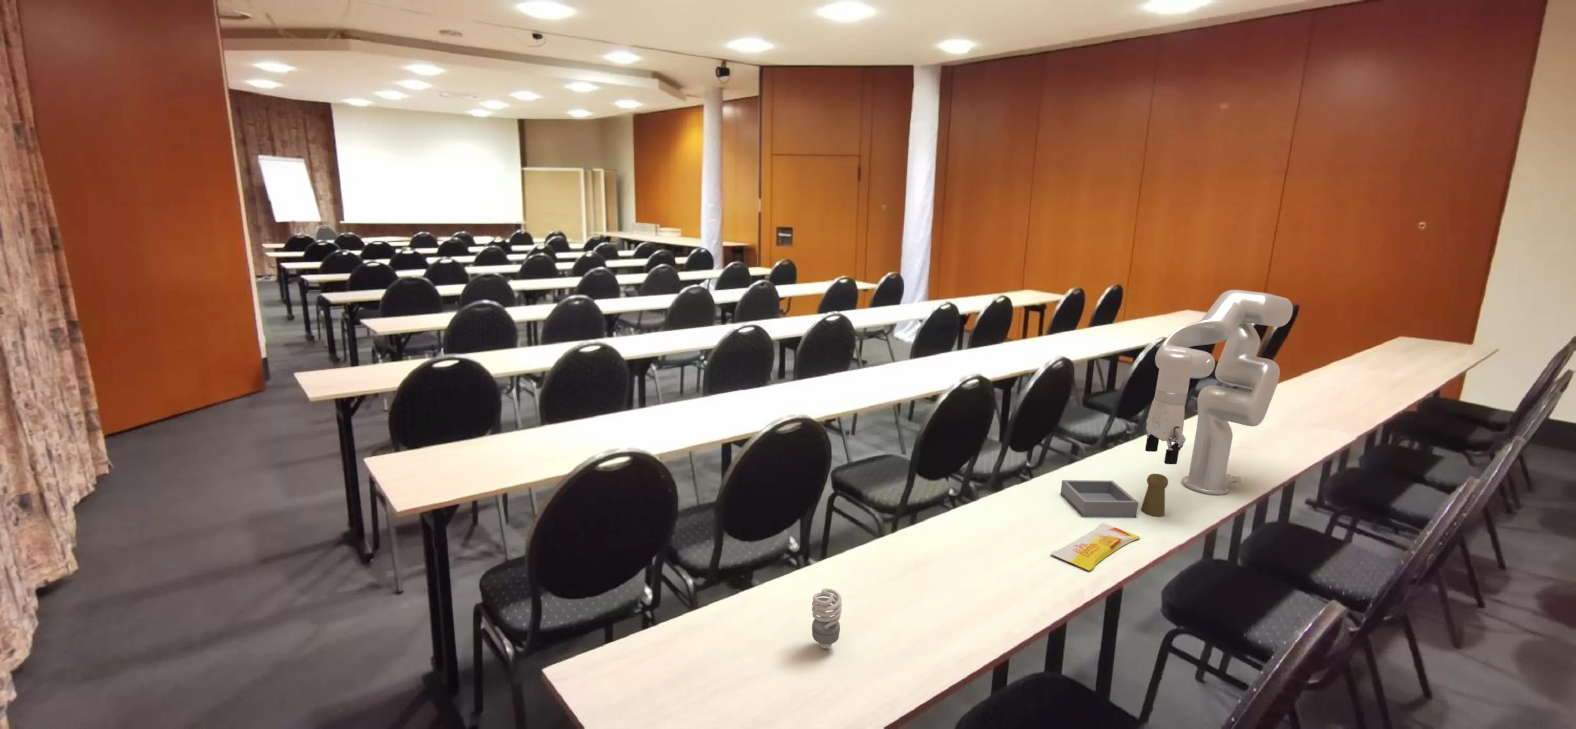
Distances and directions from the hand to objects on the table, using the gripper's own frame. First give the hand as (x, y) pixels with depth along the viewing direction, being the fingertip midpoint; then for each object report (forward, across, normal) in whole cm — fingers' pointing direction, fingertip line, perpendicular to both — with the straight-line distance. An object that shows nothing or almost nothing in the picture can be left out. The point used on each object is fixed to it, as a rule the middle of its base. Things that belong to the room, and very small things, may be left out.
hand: (1160, 457), depth 196 cm
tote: (+17, -4, -13) cm, 22 cm away
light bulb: (+19, +60, -96) cm, 115 cm away
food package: (+18, +20, -25) cm, 36 cm away
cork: (+17, 0, +1) cm, 17 cm away
